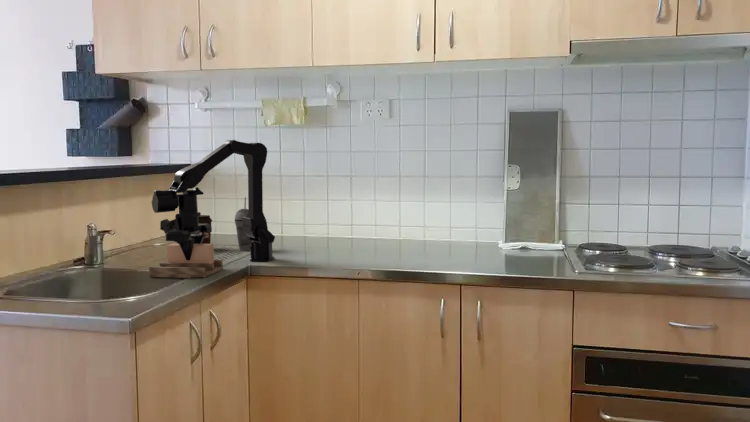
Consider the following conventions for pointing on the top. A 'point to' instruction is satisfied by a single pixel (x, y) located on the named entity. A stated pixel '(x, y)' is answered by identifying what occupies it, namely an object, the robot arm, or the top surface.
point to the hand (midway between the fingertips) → (191, 259)
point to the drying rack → (185, 269)
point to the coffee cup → (205, 220)
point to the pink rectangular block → (199, 254)
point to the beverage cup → (242, 237)
